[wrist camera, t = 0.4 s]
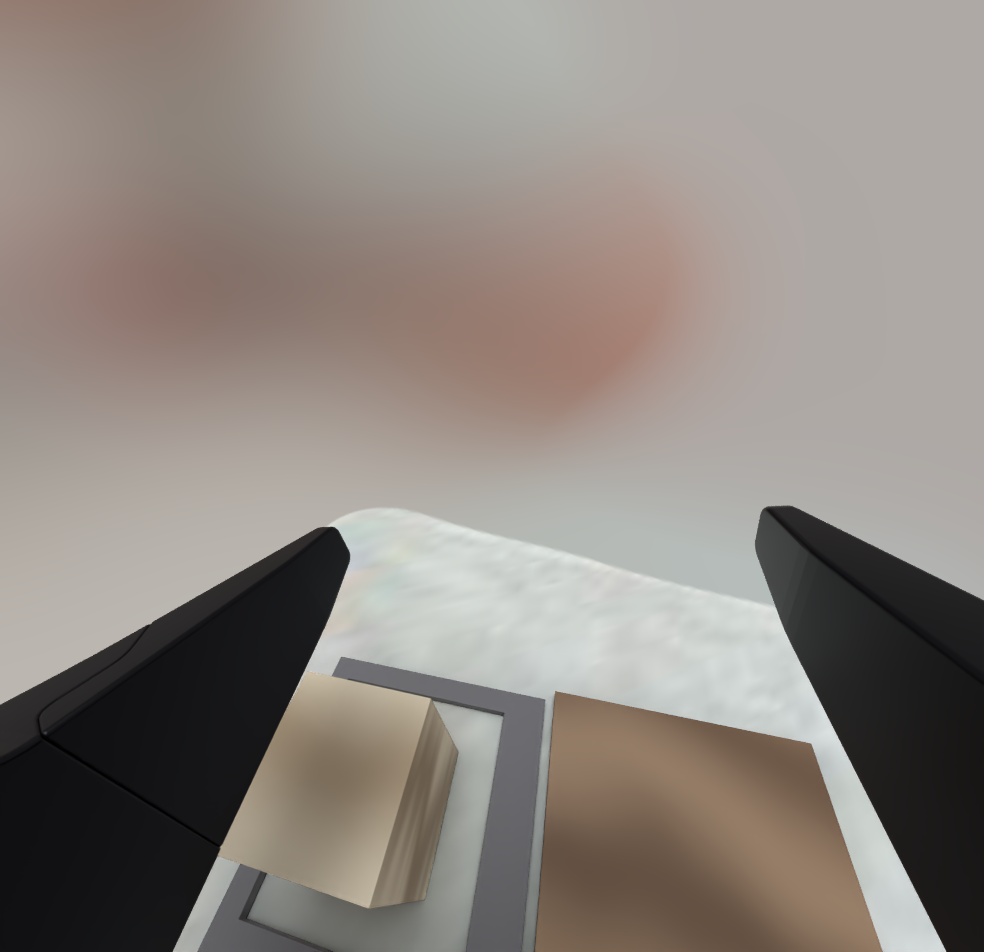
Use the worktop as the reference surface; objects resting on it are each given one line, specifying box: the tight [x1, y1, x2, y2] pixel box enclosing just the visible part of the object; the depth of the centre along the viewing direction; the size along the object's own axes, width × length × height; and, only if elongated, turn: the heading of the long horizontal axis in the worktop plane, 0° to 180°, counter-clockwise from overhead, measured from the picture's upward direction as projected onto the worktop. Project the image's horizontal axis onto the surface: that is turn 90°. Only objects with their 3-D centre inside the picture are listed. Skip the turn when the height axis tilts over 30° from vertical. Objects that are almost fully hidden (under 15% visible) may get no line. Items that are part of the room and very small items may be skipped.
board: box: [535, 691, 883, 952], centre depth 14 cm, size 14×12×1 cm
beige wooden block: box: [218, 671, 458, 909], centre depth 15 cm, size 5×5×8 cm
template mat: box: [198, 657, 545, 952], centre depth 16 cm, size 14×12×1 cm
